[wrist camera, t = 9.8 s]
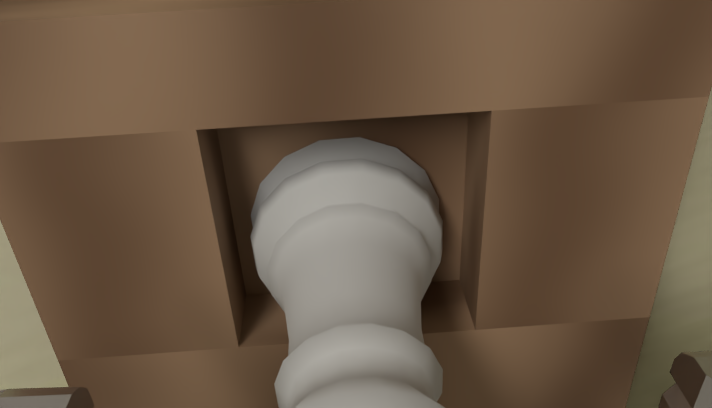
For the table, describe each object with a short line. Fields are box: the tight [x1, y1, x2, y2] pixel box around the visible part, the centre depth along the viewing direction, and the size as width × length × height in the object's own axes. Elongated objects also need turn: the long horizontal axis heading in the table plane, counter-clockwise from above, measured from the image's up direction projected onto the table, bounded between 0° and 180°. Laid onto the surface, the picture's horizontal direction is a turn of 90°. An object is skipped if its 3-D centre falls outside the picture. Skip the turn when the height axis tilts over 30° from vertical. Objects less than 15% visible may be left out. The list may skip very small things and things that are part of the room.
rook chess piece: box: [250, 137, 445, 408], centre depth 12 cm, size 4×4×8 cm
